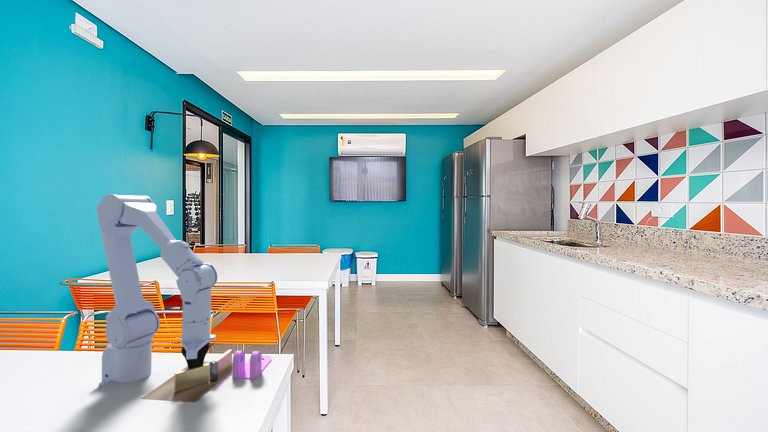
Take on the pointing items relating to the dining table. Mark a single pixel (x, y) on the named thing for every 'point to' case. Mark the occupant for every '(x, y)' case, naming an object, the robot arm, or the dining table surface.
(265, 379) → the dining table surface
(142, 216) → the robot arm
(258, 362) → the bracket
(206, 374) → the swing leaf
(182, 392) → the walnut board
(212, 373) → the fixed leaf
